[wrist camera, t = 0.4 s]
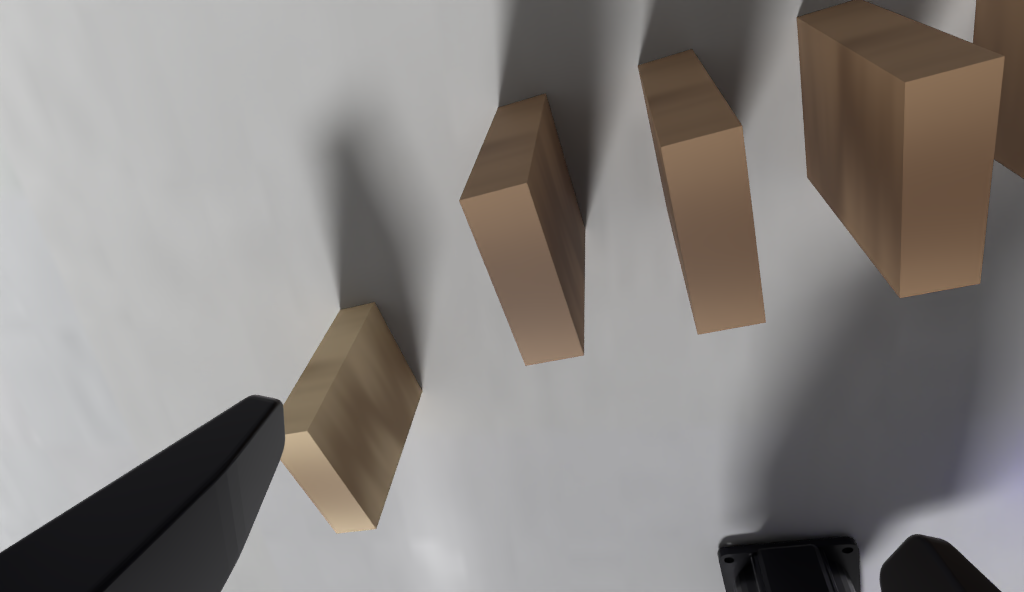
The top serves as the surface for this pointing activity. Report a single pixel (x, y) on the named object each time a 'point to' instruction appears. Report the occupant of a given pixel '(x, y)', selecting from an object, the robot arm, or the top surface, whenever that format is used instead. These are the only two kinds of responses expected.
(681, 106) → the domino
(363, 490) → the oak domino
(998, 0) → the domino
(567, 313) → the domino
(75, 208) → the top surface
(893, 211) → the domino
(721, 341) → the top surface
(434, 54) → the top surface
